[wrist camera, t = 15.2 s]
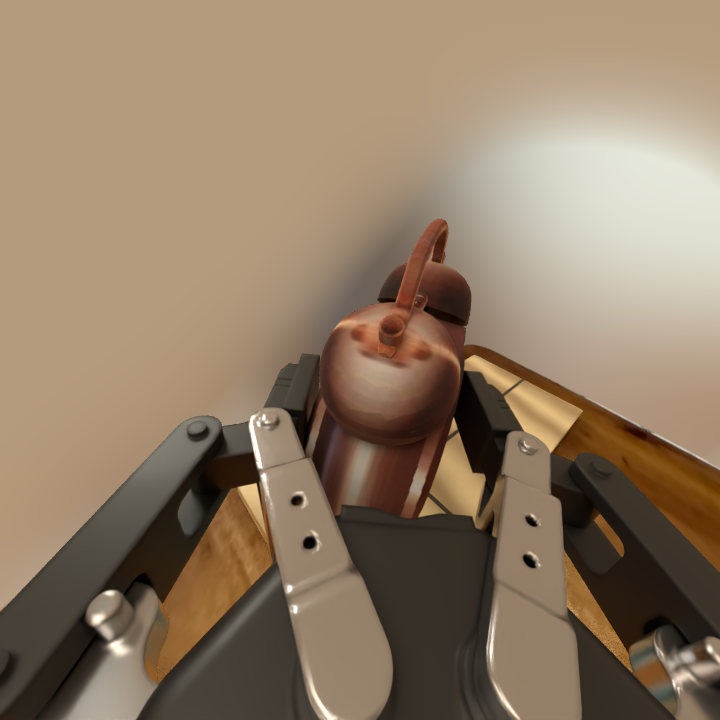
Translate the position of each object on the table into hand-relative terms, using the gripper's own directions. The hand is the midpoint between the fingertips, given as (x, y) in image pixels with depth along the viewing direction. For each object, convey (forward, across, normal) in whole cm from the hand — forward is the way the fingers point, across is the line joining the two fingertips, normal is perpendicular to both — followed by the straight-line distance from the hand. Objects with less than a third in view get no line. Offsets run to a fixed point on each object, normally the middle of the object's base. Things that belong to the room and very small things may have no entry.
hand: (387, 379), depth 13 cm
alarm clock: (0, 0, +9) cm, 9 cm away
